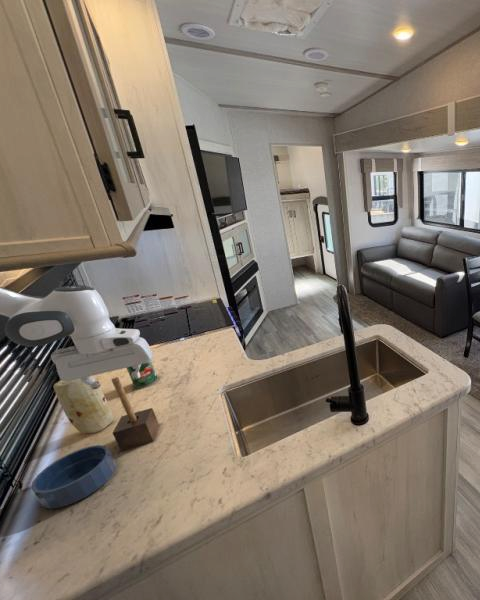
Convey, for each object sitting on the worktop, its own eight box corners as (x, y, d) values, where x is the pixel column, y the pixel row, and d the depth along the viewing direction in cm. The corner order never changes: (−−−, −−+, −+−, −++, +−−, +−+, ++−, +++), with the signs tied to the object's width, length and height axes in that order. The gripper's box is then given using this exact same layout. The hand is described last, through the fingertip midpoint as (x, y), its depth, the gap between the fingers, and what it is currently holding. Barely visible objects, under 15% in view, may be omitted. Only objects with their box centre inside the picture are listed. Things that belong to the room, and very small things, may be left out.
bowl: (29, 520, 73) (16, 503, 71) (59, 474, 86) (50, 458, 83) (105, 493, 79) (96, 476, 77) (124, 453, 91) (116, 438, 89)
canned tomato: (142, 389, 122) (132, 365, 118) (129, 386, 125) (119, 363, 121) (162, 378, 129) (153, 355, 125) (149, 375, 132) (140, 353, 128)
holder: (121, 451, 92) (112, 432, 90) (129, 433, 99) (121, 416, 97) (153, 441, 95) (145, 423, 93) (159, 424, 102) (152, 407, 100)
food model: (116, 416, 108) (93, 367, 101) (116, 425, 103) (91, 375, 96) (77, 430, 102) (50, 379, 95) (75, 441, 97) (46, 389, 90)
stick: (137, 440, 96) (110, 380, 89) (138, 436, 98) (112, 378, 90) (143, 438, 97) (117, 379, 89) (145, 434, 98) (119, 376, 91)
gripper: (41, 356, 79) (65, 400, 83) (139, 336, 87) (155, 377, 91) (54, 346, 84) (75, 388, 89) (145, 328, 92) (160, 367, 97)
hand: (117, 382), depth 90 cm, fingers open, 8 cm apart
